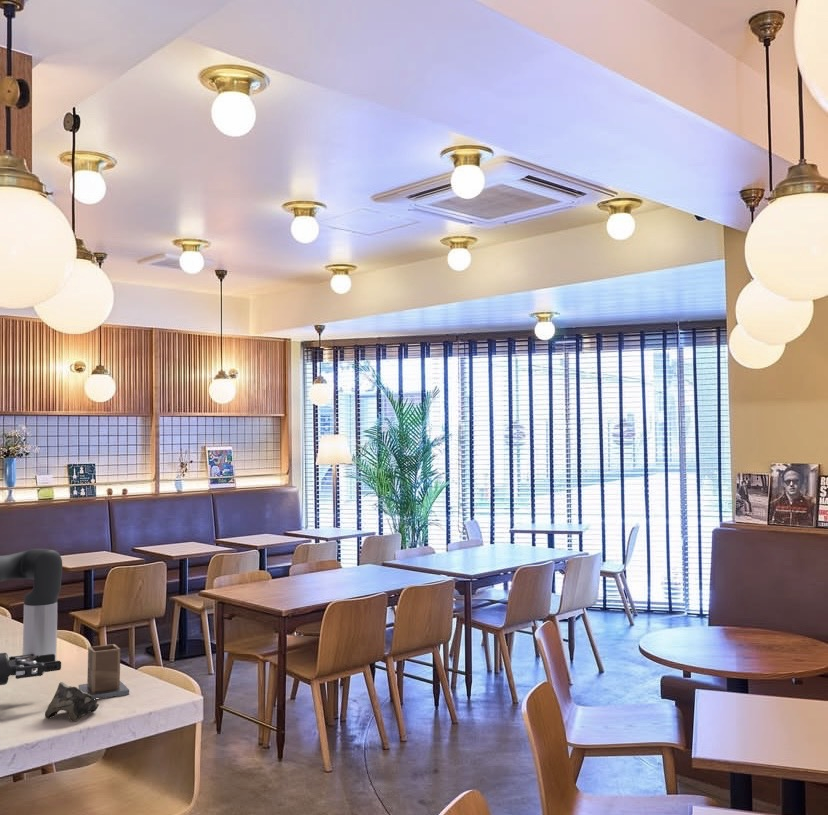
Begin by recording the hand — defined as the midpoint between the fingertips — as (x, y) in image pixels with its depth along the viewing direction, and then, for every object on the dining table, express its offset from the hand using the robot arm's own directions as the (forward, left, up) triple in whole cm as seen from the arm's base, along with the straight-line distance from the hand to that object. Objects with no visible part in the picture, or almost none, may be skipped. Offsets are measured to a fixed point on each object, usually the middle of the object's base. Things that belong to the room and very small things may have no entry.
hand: (57, 661), depth 206 cm
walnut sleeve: (0, +11, -8) cm, 14 cm away
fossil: (+17, +1, -10) cm, 19 cm away
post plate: (0, +11, -9) cm, 14 cm away
